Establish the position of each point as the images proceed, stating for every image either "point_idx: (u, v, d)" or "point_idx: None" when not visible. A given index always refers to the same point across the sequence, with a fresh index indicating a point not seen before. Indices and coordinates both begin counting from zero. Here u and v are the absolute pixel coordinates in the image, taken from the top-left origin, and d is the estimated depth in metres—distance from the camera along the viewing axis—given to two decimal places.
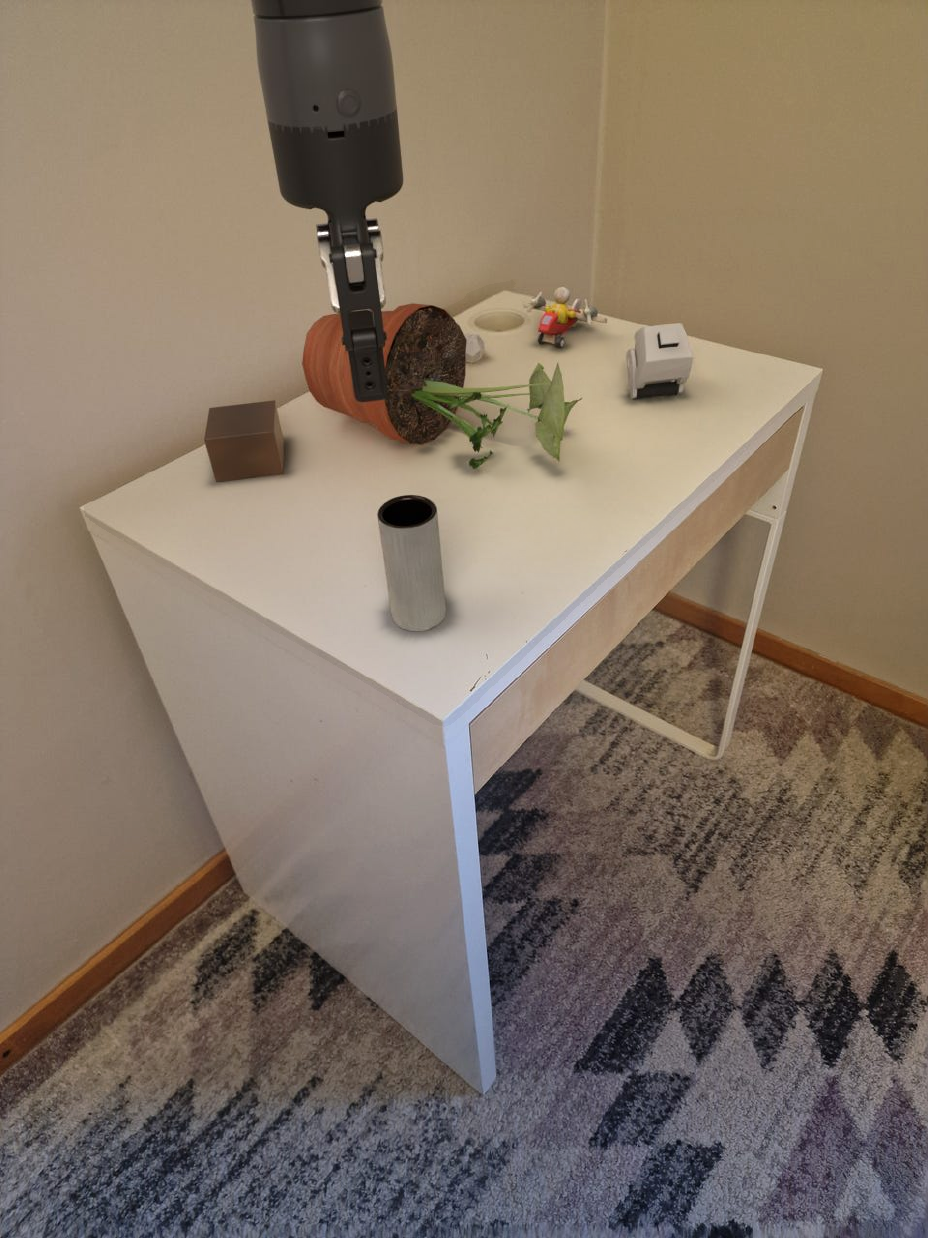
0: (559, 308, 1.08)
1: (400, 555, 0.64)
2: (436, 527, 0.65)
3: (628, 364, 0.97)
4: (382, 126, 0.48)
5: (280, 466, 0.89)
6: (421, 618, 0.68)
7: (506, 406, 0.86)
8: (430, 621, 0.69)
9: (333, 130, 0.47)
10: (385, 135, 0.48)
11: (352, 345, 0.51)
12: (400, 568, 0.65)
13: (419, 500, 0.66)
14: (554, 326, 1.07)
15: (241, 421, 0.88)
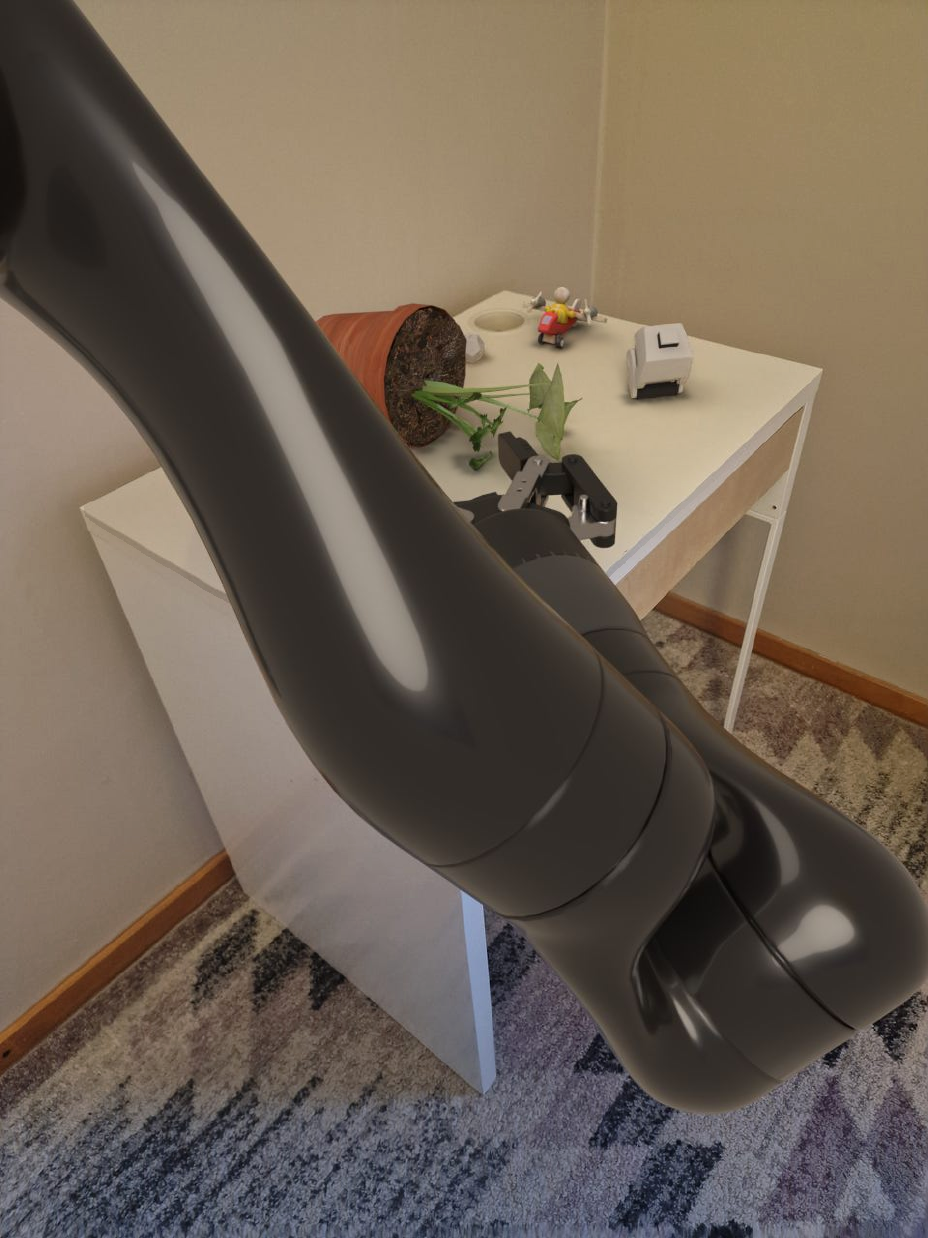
0: (559, 308, 1.08)
1: None
2: None
3: (628, 364, 0.97)
4: None
5: None
6: None
7: (506, 406, 0.86)
8: None
9: None
10: None
11: None
12: None
13: None
14: (554, 326, 1.07)
15: None
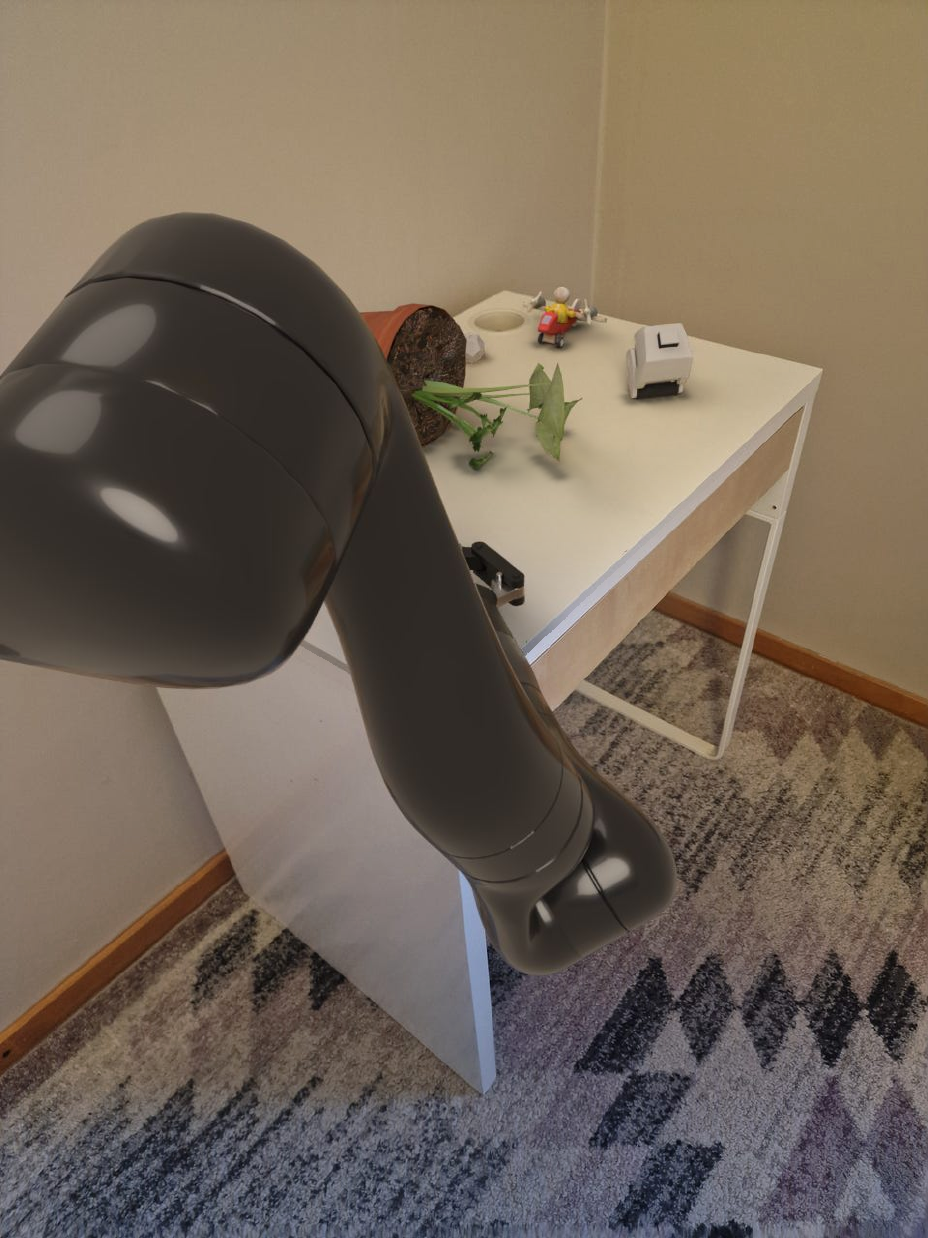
0: (559, 308, 1.08)
1: None
2: None
3: (628, 364, 0.97)
4: None
5: None
6: None
7: (506, 406, 0.86)
8: None
9: None
10: None
11: None
12: None
13: None
14: (554, 326, 1.07)
15: None
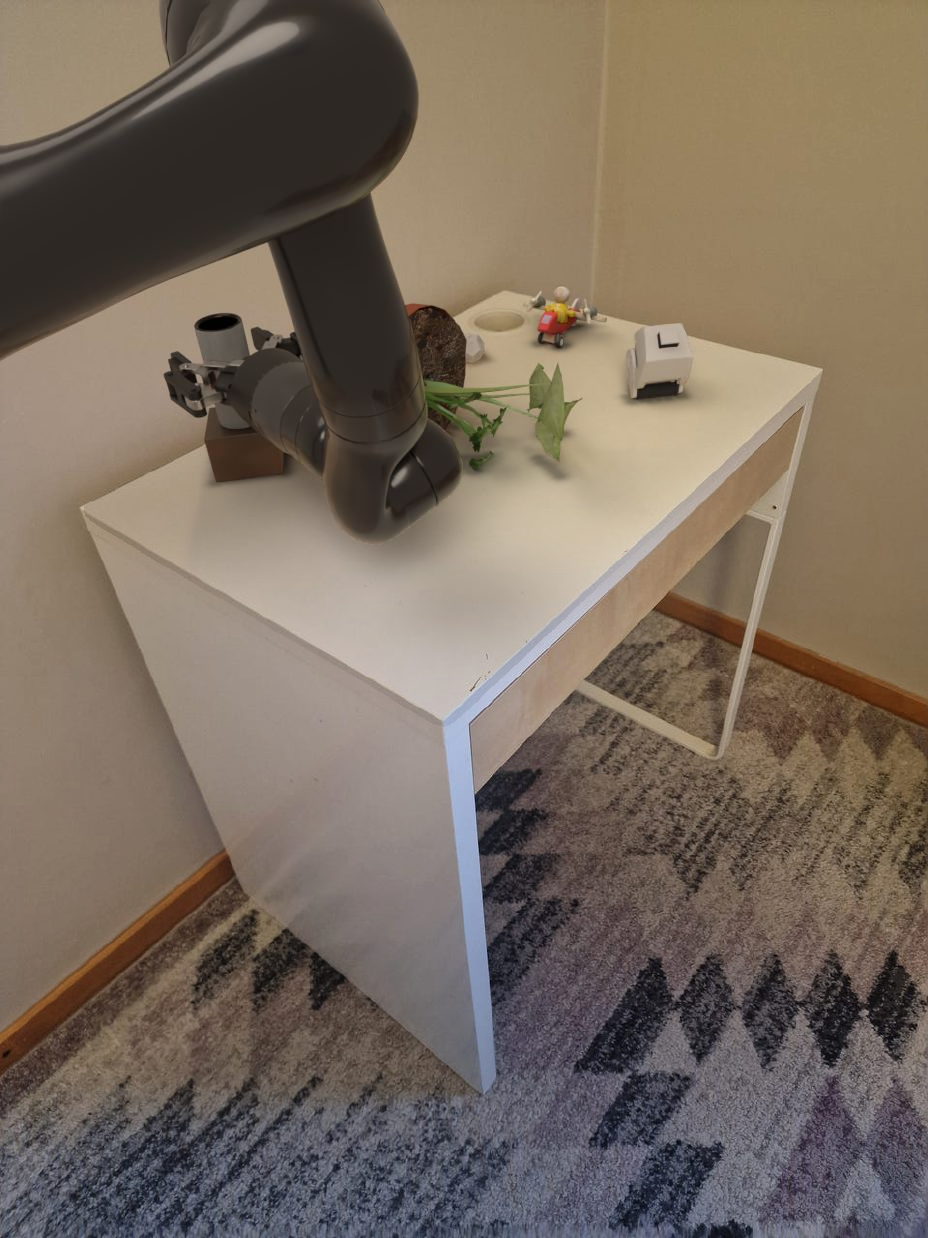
0: (559, 307, 1.08)
1: (220, 356, 0.82)
2: (243, 332, 0.82)
3: (628, 364, 0.97)
4: None
5: (280, 466, 0.89)
6: None
7: (506, 406, 0.86)
8: None
9: (250, 415, 0.74)
10: None
11: (165, 379, 0.79)
12: None
13: (225, 315, 0.83)
14: (554, 325, 1.07)
15: None
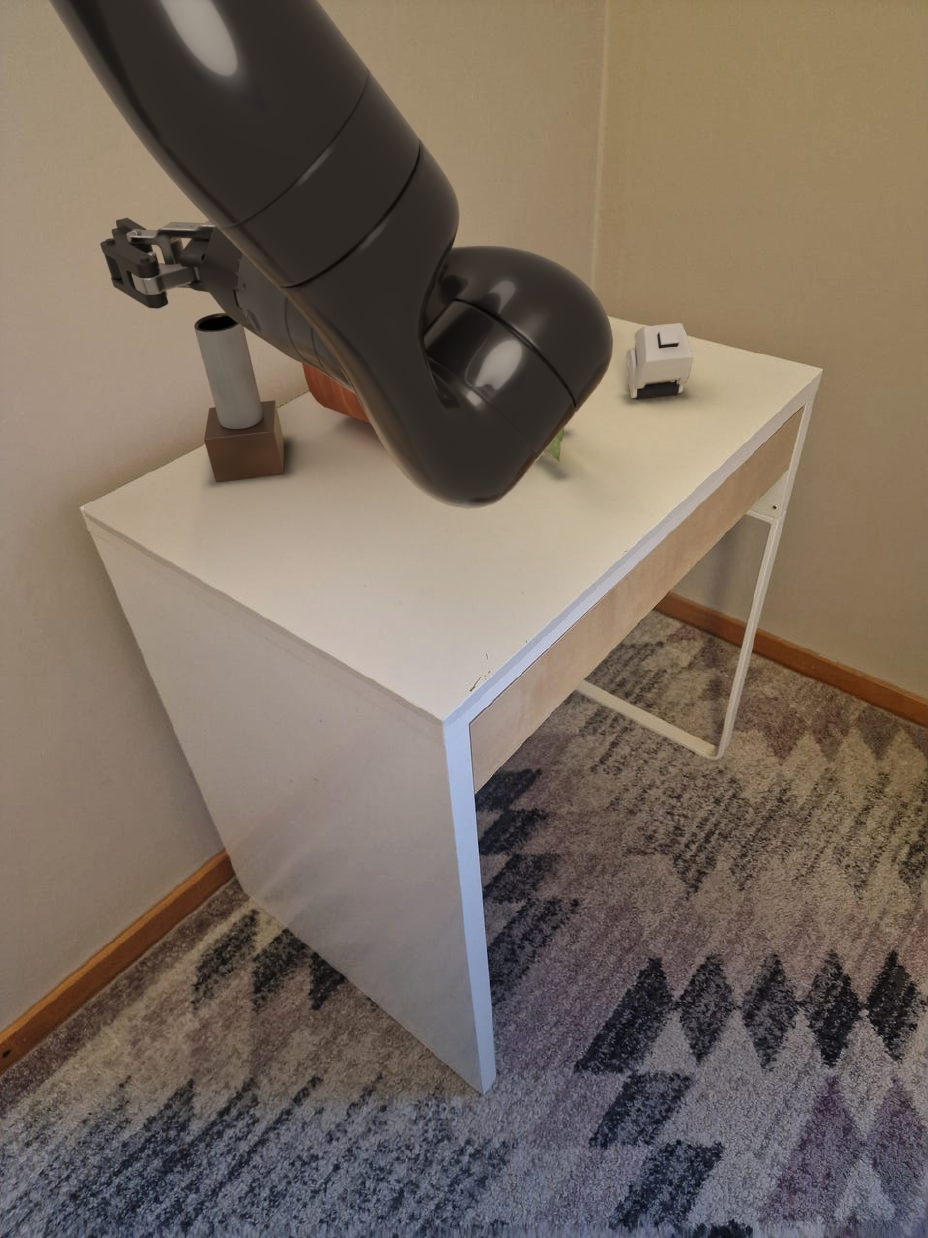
0: None
1: (220, 356, 0.82)
2: (243, 332, 0.82)
3: (628, 364, 0.97)
4: None
5: (280, 466, 0.89)
6: (245, 415, 0.86)
7: None
8: (253, 418, 0.87)
9: (236, 296, 0.45)
10: None
11: (103, 251, 0.50)
12: (221, 369, 0.82)
13: (225, 315, 0.83)
14: None
15: None
